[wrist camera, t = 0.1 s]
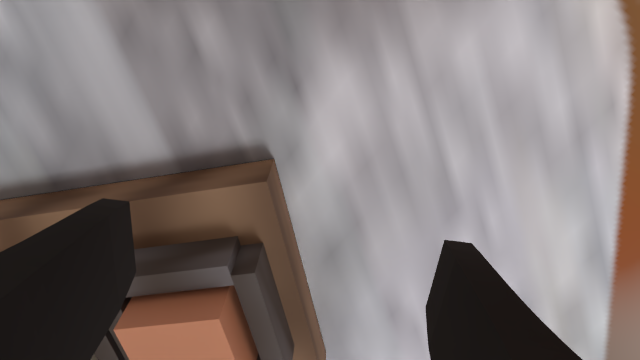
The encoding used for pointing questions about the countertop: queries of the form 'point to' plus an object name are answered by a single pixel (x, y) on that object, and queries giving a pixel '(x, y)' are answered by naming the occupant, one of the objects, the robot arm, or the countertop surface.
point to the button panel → (201, 247)
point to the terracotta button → (186, 326)
